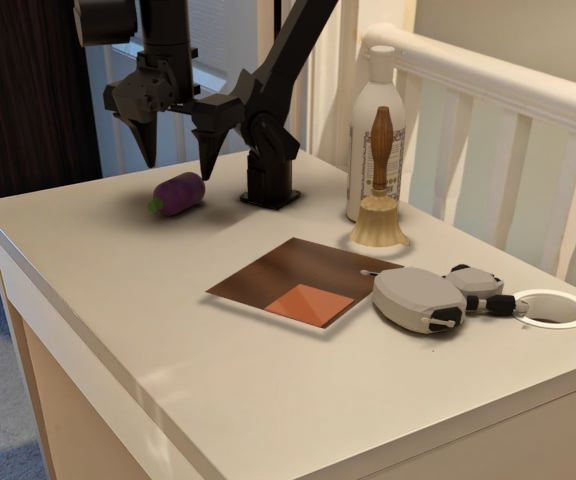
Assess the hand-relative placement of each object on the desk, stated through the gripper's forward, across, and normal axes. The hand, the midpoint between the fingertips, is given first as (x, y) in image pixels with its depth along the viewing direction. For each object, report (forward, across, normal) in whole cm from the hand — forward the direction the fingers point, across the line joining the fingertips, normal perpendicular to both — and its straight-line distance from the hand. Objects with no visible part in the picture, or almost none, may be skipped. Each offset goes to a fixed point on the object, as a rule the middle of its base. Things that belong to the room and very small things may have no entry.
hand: (178, 173), depth 109 cm
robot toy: (+5, +43, -9) cm, 44 cm away
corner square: (+4, +31, -17) cm, 35 cm away
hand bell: (+5, +28, +4) cm, 29 cm away
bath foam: (+5, +23, +12) cm, 26 cm away
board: (+5, +27, -11) cm, 30 cm away
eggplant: (+5, 0, 0) cm, 5 cm away
